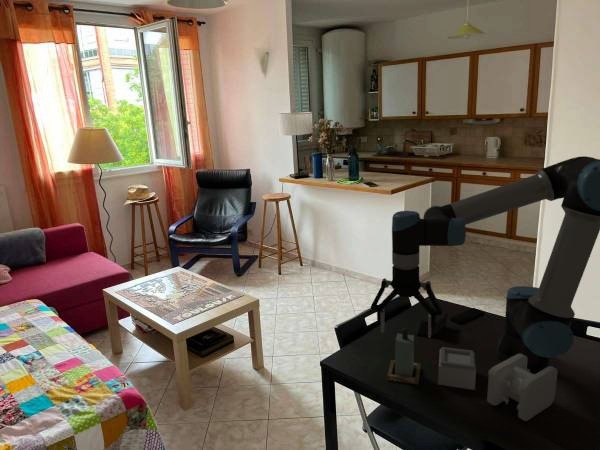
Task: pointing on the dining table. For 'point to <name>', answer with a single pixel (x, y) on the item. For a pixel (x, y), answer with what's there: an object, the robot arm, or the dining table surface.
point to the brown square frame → (403, 378)
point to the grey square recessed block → (457, 368)
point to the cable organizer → (522, 386)
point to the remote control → (466, 316)
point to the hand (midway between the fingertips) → (405, 333)
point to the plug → (404, 354)
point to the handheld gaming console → (432, 327)
